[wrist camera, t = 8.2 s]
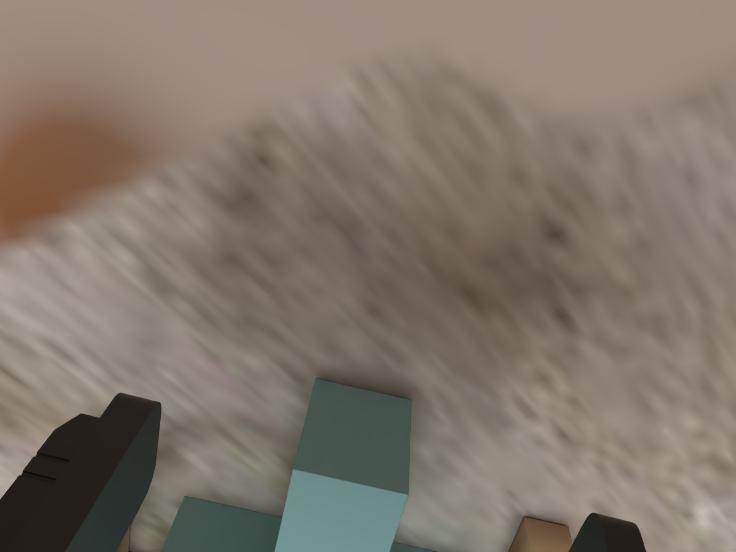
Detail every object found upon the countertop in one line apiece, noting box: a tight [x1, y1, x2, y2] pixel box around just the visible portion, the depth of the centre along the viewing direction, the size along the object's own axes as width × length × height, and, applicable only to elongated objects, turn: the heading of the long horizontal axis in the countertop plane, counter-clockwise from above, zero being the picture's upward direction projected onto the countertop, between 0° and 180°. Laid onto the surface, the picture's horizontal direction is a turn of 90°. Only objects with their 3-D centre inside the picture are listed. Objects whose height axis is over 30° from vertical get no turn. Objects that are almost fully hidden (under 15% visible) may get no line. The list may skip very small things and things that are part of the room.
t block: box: [161, 379, 435, 552], centre depth 21 cm, size 9×10×4 cm
